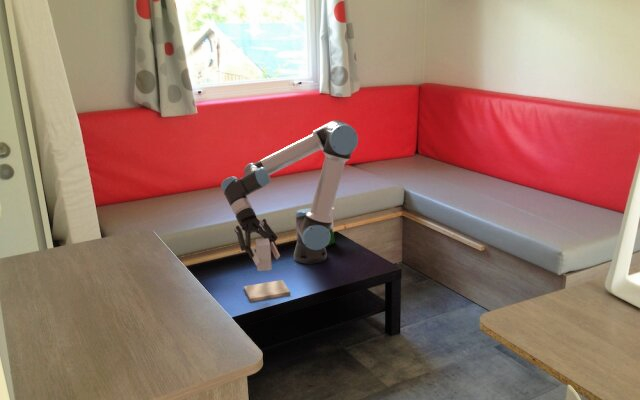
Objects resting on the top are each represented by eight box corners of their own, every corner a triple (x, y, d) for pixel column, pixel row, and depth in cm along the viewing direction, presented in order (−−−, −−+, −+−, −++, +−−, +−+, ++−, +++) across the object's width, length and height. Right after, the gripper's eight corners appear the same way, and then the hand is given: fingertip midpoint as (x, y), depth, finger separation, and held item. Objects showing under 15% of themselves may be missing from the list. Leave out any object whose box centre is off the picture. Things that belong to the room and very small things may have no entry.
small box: (271, 270, 212) (270, 244, 209) (257, 271, 212) (255, 246, 209) (270, 262, 220) (269, 237, 217) (256, 263, 219) (254, 238, 216)
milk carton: (312, 245, 267) (310, 205, 261) (322, 239, 274) (321, 201, 268) (327, 248, 262) (326, 208, 256) (337, 242, 269) (336, 203, 264)
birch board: (282, 282, 227) (282, 279, 226) (290, 294, 216) (290, 291, 215) (244, 289, 222) (243, 286, 222) (250, 301, 211) (250, 298, 211)
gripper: (262, 211, 229) (286, 257, 221) (217, 222, 216) (241, 272, 209) (269, 201, 223) (294, 249, 216) (223, 212, 211) (247, 263, 203)
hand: (268, 260), depth 212 cm, fingers closed on small box, 8 cm apart
